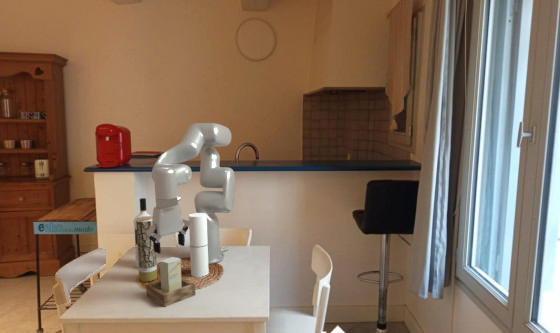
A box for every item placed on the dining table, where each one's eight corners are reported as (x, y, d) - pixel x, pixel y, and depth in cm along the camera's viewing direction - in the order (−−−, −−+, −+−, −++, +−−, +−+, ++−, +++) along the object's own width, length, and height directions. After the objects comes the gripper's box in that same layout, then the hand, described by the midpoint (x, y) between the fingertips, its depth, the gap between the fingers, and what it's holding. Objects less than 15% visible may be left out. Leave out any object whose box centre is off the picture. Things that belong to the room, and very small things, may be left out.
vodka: (149, 270, 169) (145, 200, 165) (130, 268, 171) (126, 200, 168) (161, 262, 178) (158, 196, 174) (143, 260, 180) (139, 195, 176)
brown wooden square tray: (176, 285, 153) (176, 275, 152) (195, 294, 144) (194, 284, 144) (146, 296, 144) (146, 285, 143) (164, 306, 135) (164, 295, 135)
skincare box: (169, 296, 140) (167, 263, 139) (160, 293, 143) (159, 261, 141) (182, 290, 145) (181, 258, 144) (174, 287, 148) (172, 256, 146)
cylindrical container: (193, 278, 159) (191, 217, 156) (189, 272, 165) (186, 214, 162) (210, 275, 162) (208, 215, 159) (205, 269, 169) (203, 212, 166)
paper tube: (151, 283, 155) (148, 220, 152) (136, 282, 156) (132, 220, 153) (160, 276, 162) (157, 216, 159) (145, 275, 163) (142, 215, 160)
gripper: (182, 196, 149) (184, 240, 151) (138, 205, 136) (142, 253, 139) (193, 199, 144) (196, 244, 146) (149, 209, 131) (153, 258, 134)
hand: (169, 248), depth 143 cm, fingers open, 9 cm apart
